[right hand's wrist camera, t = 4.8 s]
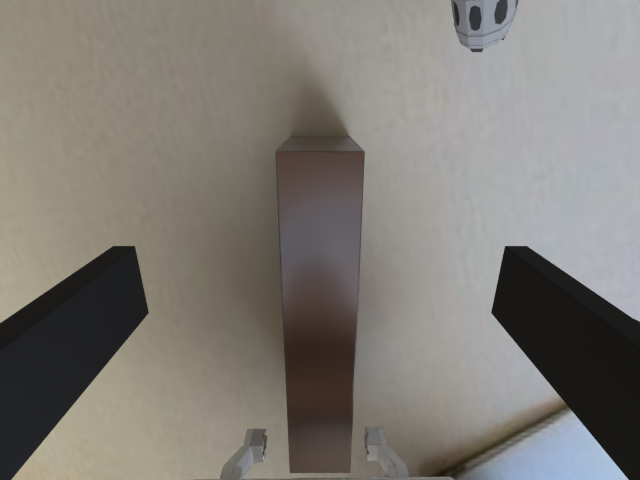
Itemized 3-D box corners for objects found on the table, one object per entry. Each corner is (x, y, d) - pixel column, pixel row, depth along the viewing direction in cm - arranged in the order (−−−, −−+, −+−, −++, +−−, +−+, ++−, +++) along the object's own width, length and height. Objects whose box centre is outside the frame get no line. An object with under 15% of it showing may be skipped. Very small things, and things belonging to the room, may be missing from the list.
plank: (289, 136, 29) (275, 151, 20) (350, 136, 29) (364, 151, 20) (297, 383, 38) (289, 473, 29) (342, 383, 38) (350, 473, 29)
